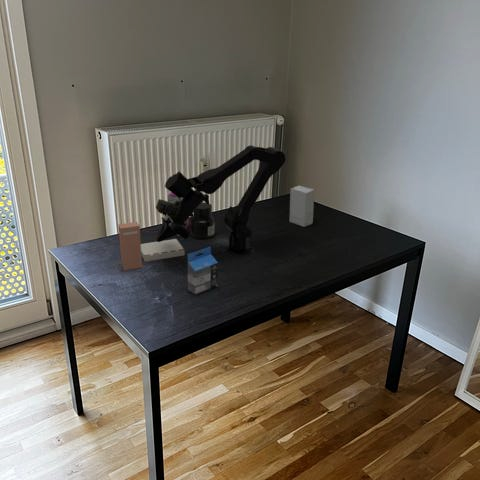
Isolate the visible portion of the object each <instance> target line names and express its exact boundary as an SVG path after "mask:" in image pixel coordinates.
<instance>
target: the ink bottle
mask: <svg viewBox="0 0 480 480" xmlns="http://www.w3.org/2000/svg"><path fill="white" fill-rule="evenodd" d="M212 213H213V207H212V204H211V203H209V204H207V203H206V202H202V203H201V204H200V205H199V206H198V208H197V209H196V210H195V211H194V212H193V215H194V216H193V217H191V218H190V219H191V220H190V231H191V232H190V236H192V237H193V238H195V239H199V240H206V239H212V238H213V237H214V236H215V218H214V217H213V215H212Z"/></svg>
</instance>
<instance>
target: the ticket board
mask: <svg viewBox="0 0 480 480" xmlns="http://www.w3.org/2000/svg"><path fill="white" fill-rule="evenodd" d="M185 255H186V254H185V249H184V247H183V245H181V243H180V242H179V240H178V239H177V238H173V239H168V240H167V239H165V240H163V241H161V242H157V241H153V242H152V241H151V242H146V243H141V256H142V260H143V261H144V262H145V263H146V262H151V261H157V260H163V259H170V258H177V257H182V256H185Z"/></svg>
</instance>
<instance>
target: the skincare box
mask: <svg viewBox="0 0 480 480" xmlns="http://www.w3.org/2000/svg"><path fill="white" fill-rule="evenodd" d="M289 199H290V200H289V220H288V221H289V223H292V224H295V225H298V226H300V227H303V228H305V227H307V226H311V225H312V224H313V221H314V205H315V204H314V203H315V189H313V188H311V187H310V188H309V187H306V186H303V185H297V186H294V187H292V188H290V195H289Z"/></svg>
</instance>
